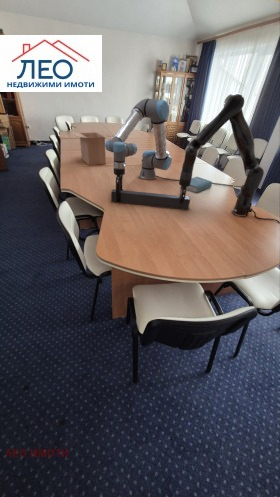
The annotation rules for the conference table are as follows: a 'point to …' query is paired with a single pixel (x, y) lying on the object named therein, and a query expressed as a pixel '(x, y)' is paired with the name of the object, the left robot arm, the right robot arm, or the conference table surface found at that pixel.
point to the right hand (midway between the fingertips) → (181, 200)
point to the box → (92, 146)
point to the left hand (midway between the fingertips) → (119, 200)
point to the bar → (151, 199)
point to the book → (199, 184)
